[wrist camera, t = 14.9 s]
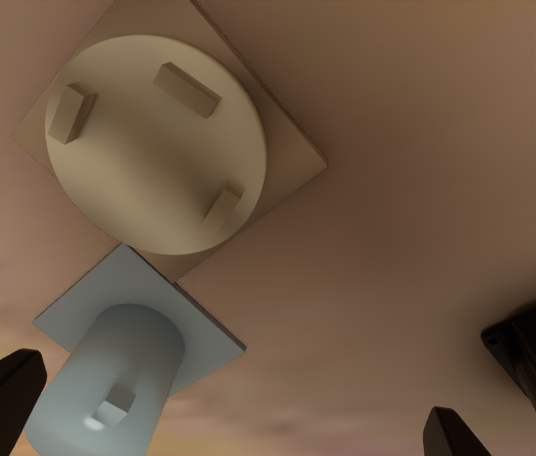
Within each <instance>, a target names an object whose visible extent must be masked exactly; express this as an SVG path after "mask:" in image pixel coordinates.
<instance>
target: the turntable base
mask: <svg viewBox="0 0 536 456" xmlns="http://www.w3.org/2000/svg"><path fill="white" fill-rule="evenodd" d="M138 34H142V35H160V36H166V37H171V38H174V39H178V40H181V41H184V42H187V43H189V44H191V45H193V46H195V47H198V48H200V49H201V50H203V51H205V52H206V53H208V54H209V55H211V56H213V57H214V58H215V59H217V60H218V61H219V62H220V63H221V64H223V65H224V66H225V67H226V68H227V69H228V70H229V71H230V72H231V73H232V74H233V75H234V76H235V77H236V78H237V79H238V80H239V82H240V83H241V84H242V86H243V87H244V88H245V90H246V91H247V93H248V94H249V96H250V98H251V100H252V101H253V103H254V105H255V107H256V109H257V112H258V114H259V116H260V119H261V121H262V125H263V129H264V132H265V137H266V144H267V169H266V176H265V180H264V184H263V187H262V190H261V193H260V196H259V199H258V201H257V203H256V205H255V208H254V210H253V211H252V213H251V214H250V216H249V218H248V219H247V221H246V222H245V223H244V224H243V225H242V226H241V228H240V229H239V230H238V231H236V232H235V233H234V234H233V235H232V236H231V237H229V238H228V239H226V240H225V241H223V242H222V243H220V244H218V245H216V246H214V247H211V248H209V249H206V250H203V251H200V252H196V253H190V254H181V255H167V254H157V253H152V252H147V251H143V250H140V249H137V248H134V247H133V248H134V249H135V250H136V251H137V252H138V253H139V254H141V255H142V256H143V257H144V258H145V259H146V260H147V261H148V262H149V263H150V264H152V265H153V266H154V267H155V268H156V269H157V270H158V271H159V272H160V273H162V274H163V275H164V276H165V277H166V278H167V279H168V280H169V281H170V282H171V283H174V282H175V281H177V280H178V279H179V278H181V277H182V276H183V275H185V274H186V273H187V272H189V271H190V270H191V269H193V268H194V267H195V266H197V265H198V264H199V263H201V262H202V261H203V260H205V259H206V258H207V257H209V256H210V255H211V254H213V253H214V252H215V251H217V250H218V249H219V248H221V247H222V246H223V245H225V244H226V243H227V242H228V241H230V240H231V239H232V238H234V237H235V236H236V235H238V234H239V233H240V232H242V231H243V230H244V229H246V228H247V227H248V226H250V225H251V224H252V223H254V222H255V221H256V220H258V219H259V218H260V217H262V216H263V215H264V214H266V213H267V212H268V211H270V210H271V209H272V208H274V207H275V206H276V205H278V204H279V203H280V202H282V201H283V200H284V199H286V198H287V197H288V196H290V195H291V194H292V193H294V192H295V191H296V190H298V189H299V188H300V187H301V186H303V185H304V184H305V183H307V182H308V181H309V180H311V179H312V178H313V177H315V176H316V175H317V174H319V173H320V172H321V171H323V170H324V169H325V168H327V167H328V160H327V159H326V158H325V157H324V155H323V154H322V153H321V152H320V151H319V149H318V148H317V147H316V146H315V145H314V143H313V142H312V141H311V140H310V139H309V137H308V136H307V135H306V134H305V133H304V131H303V130H302V129H301V128H300V127H299V125H298V124H297V123H296V122H295V121H294V119H293V118H292V117H291V116H290V115H289V113H288V112H287V111H286V110H285V109H284V107H283V106H282V105H281V104H280V103H279V101H278V100H277V99H276V98H275V97H274V95H273V94H272V93H271V92H270V91H269V89H268V88H267V87H266V86H265V85H264V83H263V82H262V81H261V80H260V79H259V77H258V76H257V75H256V74H255V73H254V71H253V70H252V69H251V68H250V67H249V65H248V64H247V63H246V62H245V61H244V59H243V58H242V57H241V56H240V55H239V53H238V52H237V51H236V50H235V49H234V47H233V46H232V45H231V44H230V42H229V41H228V40H227V39H226V38H225V36H224V35H223V34H222V33H221V32H220V30H219V29H218V28H217V27H216V26H215V24H214V23H213V22H212V21H211V20H210V18H209V17H208V16H207V15H206V14H205V12H204V11H203V10H202V9H201V8H200V6H199V5H198V4H197V3H196V2H195V0H114V1H113V3H112V4H111V5H110V7H109V8H108V9H107V10H106V12H105V13H104V14H103V16H102V17H101V18H100V20H99V21H98V22H97V23H96V25H95V26H94V27H93V29H92V30H91V31H90V32H89V34H88V35H87V36H86V38H85V39H84V40H83V41H82V43H81V44H80V45H79V47H78V48H77V49H76V51H75V52H74V53H73V54H72V56H71V57H70V58H69V60H68V61H67V62H66V63H65V65H64V66H63V67H62V69H61V70H60V71H59V73H58V74H57V75H56V76H55V78H54V79H53V80H52V82H51V83H50V84H49V85H48V87H47V88H46V89H45V91H44V92H43V93H42V94H41V96H40V97H39V98H38V100H37V101H36V102H35V104H34V105H33V106H32V107H31V109H30V110H29V111H28V113H27V114H26V115H25V116H24V118H23V119H22V120H21V122H20V123H19V124H18V125H17V127H16V128H15V129H14V131H13V132H12V133H11V135H10V137H11V138H13V139H14V140H15V141H16V142H17V143H18V144H19V145H20V146H21V147H22V148H24V149H25V150H26V151H27V152H28V153H29V154H30V155H31V156H32V157H34V158H35V159H36V160H37V161H38V162H39V163H40V164H41V165H42V166H43V167H45V168H46V169H47V170H48V171H49V172H50V173H51V174H52V175H53V176H54V177H56V178H57V176H56V174H55V171H54V169H53V166H52V164H51V161H50V157H49V153H48V149H47V143H46V136H45V117H46V109H47V104H48V100H49V97H50V93H51V91H52V89H53V86H54V84H55V82H56V80H57V78H58V77H59V75H60V74H61V72H62V71H63V69H64V68H65V67H66V66H67V65H68V64H69V63H70V62H71V61H72V59H73V58H75V57H76V56H77V55H79V54H80V53H81V52H83V51H84V50H85V49H87V48H89V47H91V46H93V45H95V44H97V43H99V42H102V41H105V40H108V39H111V38H117V37H123V36H130V35H138ZM57 179H58V178H57Z"/></svg>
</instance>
